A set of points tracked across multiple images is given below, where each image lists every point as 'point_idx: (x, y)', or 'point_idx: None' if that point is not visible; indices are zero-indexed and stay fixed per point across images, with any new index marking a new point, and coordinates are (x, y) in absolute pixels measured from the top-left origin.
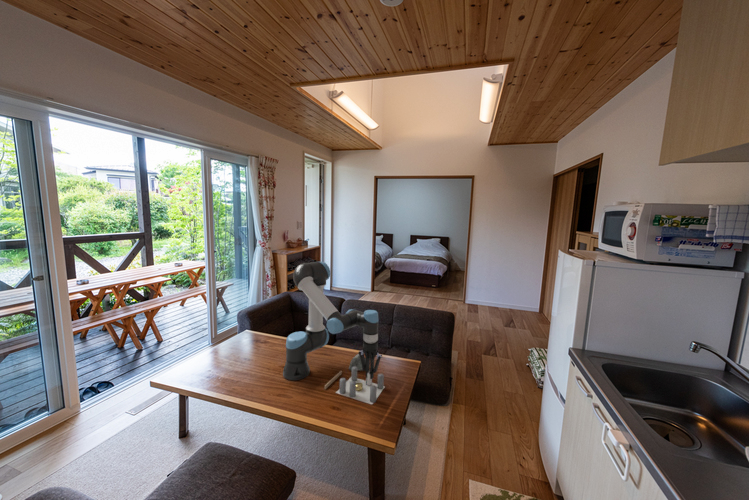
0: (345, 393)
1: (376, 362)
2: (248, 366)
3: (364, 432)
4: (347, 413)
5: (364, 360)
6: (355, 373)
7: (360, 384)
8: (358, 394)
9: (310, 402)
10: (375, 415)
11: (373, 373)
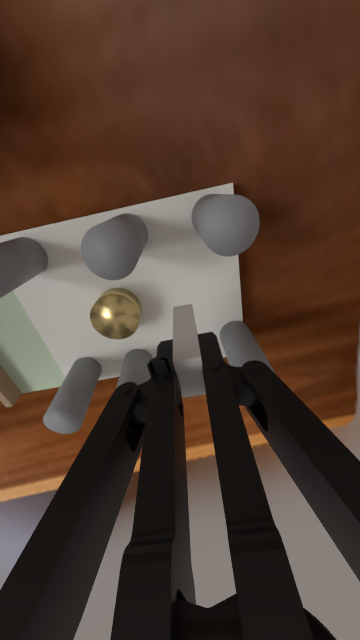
0: (104, 366)
1: (349, 545)
2: None
3: None
4: (186, 411)
5: (101, 494)
6: (17, 283)
7: (119, 309)
8: (153, 340)
9: (54, 439)
10: (274, 371)
11: (222, 356)
